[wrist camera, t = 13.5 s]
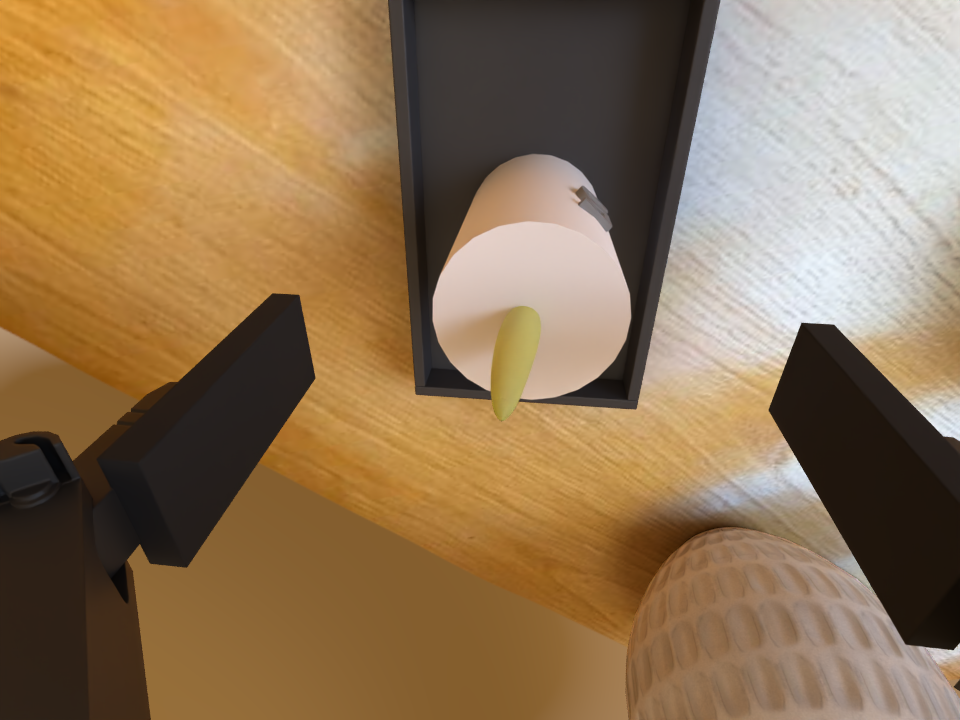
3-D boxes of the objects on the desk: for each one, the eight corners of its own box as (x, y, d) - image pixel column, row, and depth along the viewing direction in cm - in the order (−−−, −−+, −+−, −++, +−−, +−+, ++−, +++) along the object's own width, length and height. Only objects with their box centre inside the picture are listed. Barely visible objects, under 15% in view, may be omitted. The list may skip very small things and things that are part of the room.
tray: (401, -23, 21) (385, -30, 19) (708, -23, 20) (727, -31, 18) (424, 371, 31) (415, 395, 29) (630, 384, 30) (636, 409, 28)
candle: (631, 214, 25) (724, 396, 12) (535, 304, 28) (529, 527, 15) (535, 118, 23) (527, 214, 10) (444, 225, 26) (350, 402, 13)
